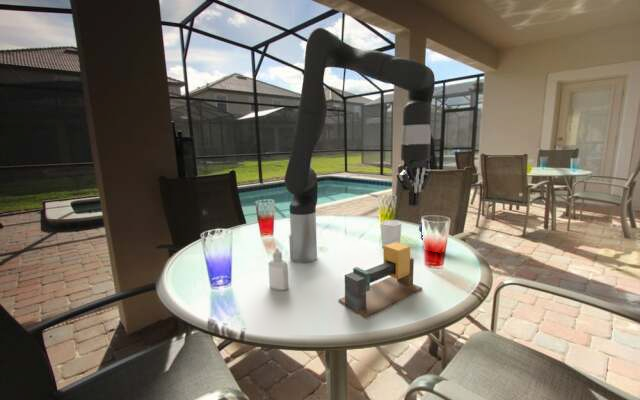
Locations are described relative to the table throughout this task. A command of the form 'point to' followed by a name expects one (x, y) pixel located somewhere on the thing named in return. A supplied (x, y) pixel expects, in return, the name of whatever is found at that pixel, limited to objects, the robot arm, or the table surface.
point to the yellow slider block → (398, 258)
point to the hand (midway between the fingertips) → (413, 205)
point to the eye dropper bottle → (278, 272)
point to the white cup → (390, 232)
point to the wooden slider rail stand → (376, 289)
